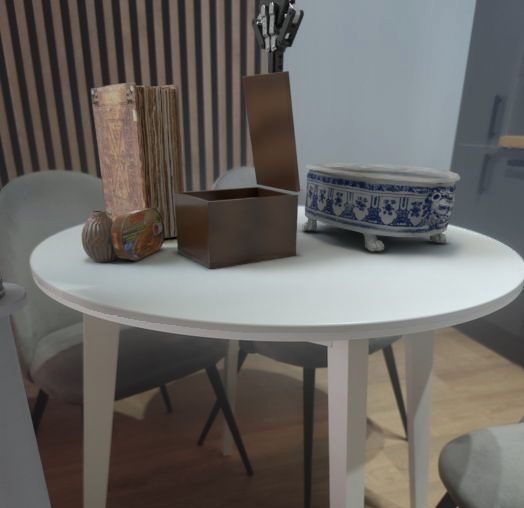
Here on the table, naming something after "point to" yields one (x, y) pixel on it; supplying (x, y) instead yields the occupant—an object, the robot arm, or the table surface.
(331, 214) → the decorative bowl
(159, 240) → the tin
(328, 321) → the table surface
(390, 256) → the table surface
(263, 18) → the robot arm
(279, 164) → the lid
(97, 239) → the vase
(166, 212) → the book
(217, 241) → the chest
